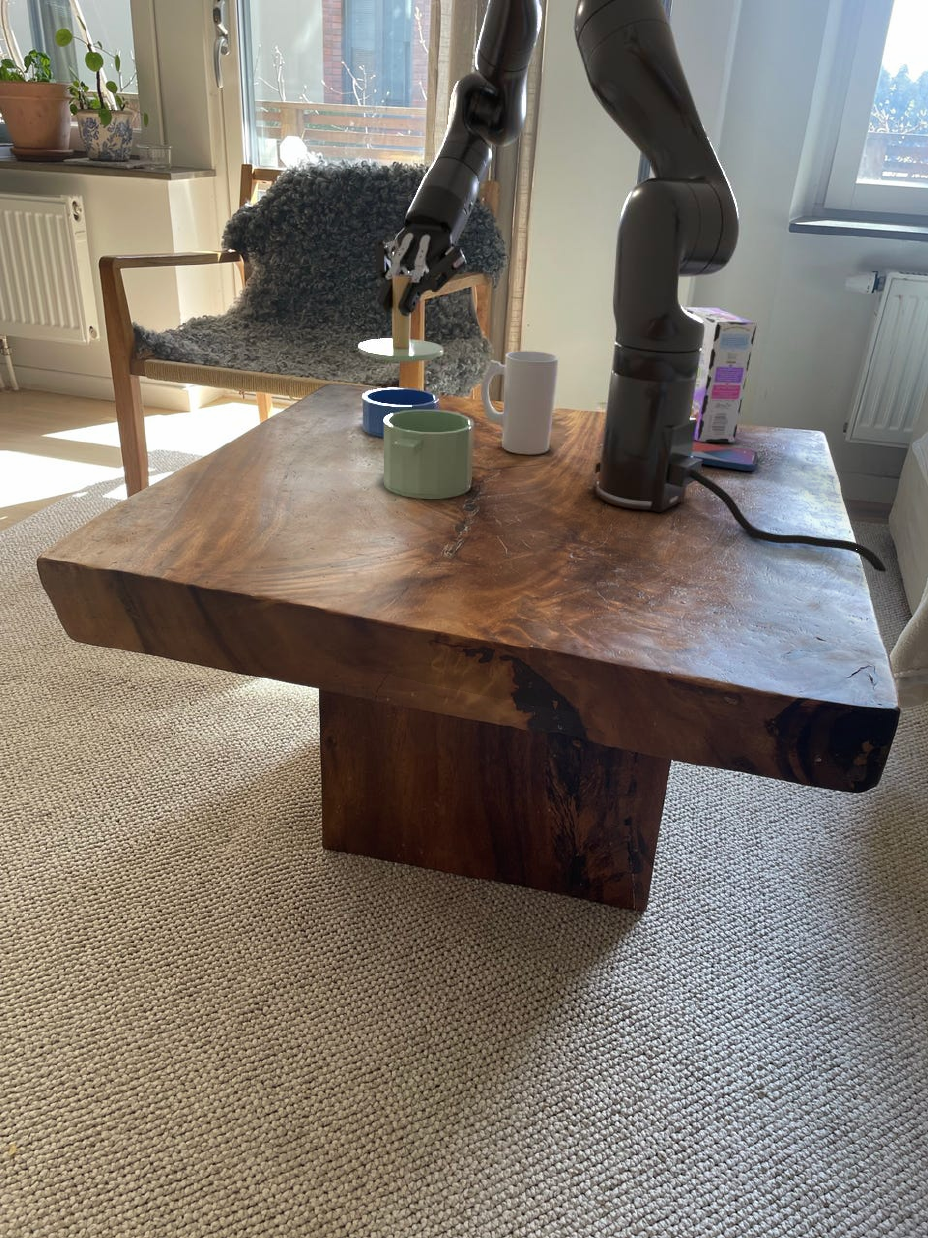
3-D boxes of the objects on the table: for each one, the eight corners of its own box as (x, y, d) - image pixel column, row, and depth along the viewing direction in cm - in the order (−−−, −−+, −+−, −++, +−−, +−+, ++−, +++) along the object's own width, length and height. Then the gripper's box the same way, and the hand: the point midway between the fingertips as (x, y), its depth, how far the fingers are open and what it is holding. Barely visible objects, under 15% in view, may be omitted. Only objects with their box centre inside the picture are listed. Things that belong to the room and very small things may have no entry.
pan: (452, 429, 125) (453, 397, 123) (402, 444, 118) (403, 410, 116) (398, 415, 131) (398, 384, 129) (347, 428, 123) (346, 395, 121)
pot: (488, 471, 109) (492, 410, 106) (445, 512, 96) (448, 444, 93) (411, 459, 112) (412, 400, 108) (359, 498, 99) (358, 432, 95)
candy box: (736, 443, 125) (759, 322, 117) (696, 443, 124) (717, 321, 116) (700, 417, 137) (718, 305, 129) (663, 417, 136) (680, 304, 128)
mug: (556, 445, 120) (565, 354, 115) (542, 458, 115) (550, 363, 109) (487, 434, 123) (491, 346, 118) (469, 447, 118) (474, 354, 112)
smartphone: (753, 473, 113) (755, 465, 113) (636, 455, 117) (637, 447, 116) (755, 458, 119) (757, 450, 119) (644, 441, 123) (645, 433, 123)
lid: (460, 358, 120) (464, 278, 115) (398, 368, 113) (399, 283, 108) (403, 344, 127) (404, 267, 122) (341, 353, 119) (339, 272, 115)
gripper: (388, 179, 119) (336, 285, 115) (480, 185, 113) (429, 297, 109) (409, 221, 125) (360, 322, 121) (496, 229, 120) (448, 335, 116)
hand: (393, 310), depth 115 cm, fingers closed on lid, 2 cm apart
